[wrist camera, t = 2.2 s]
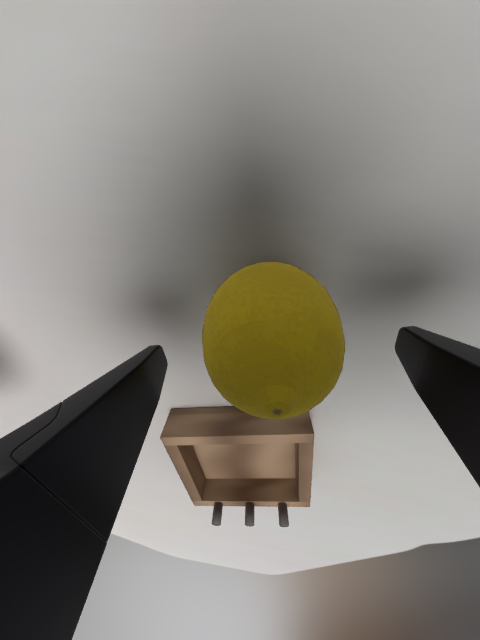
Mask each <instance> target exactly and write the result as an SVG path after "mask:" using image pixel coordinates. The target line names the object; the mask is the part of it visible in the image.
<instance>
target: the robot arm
mask: <svg viewBox="0 0 480 640" xmlns="http://www.w3.org/2000/svg"><path fill="white" fill-rule="evenodd" d="M395 351H396V353H397V355H398V357H399V359H400V361H401V363H402V365H403V367H404V369H405V371H406V373H407V375H408V377H409V379H410V381H411V383H412V384H413V386H414V388H415V390H416V391H417V393H418V395H419V396H420V398H421V399H422V401H423V402H424V404H425V405H426V407H427V408H428V410H429V411H430V413H431V414H432V416H433V417H434V419H435V420H436V422H437V423H438V425H439V426H440V428H441V429H442V431H443V432H444V434H445V435H446V437H447V438H448V440H449V441H450V443H451V445H452V446H453V448H454V449H455V451H456V452H457V454H458V455H459V457H460V458H461V460H462V461H463V463H464V464H465V466H466V467H467V469H468V470H469V472H470V473H471V475H472V476H473V478H474V479H475V481H476V482H477V484H478V485H479V487H480V349H479V348H476V347H473V346H470V345H467V344H464V343H461V342H459V341H456V340H453V339H450V338H447V337H444V336H441V335H438V334H436V333H433V332H430V331H427V330H424V329H421V328H418V327H415V326H409V327H402V328H400V330H399V332H398V336H397V340H396V344H395ZM167 365H168V364H167V359H166V356H165V354H164V351H163V348H162V347H161V346H160V345H153V346H149V347H147V348H146V349H144V350H143V351H141V352H139V353H138V354H136V355H135V356H133V357H132V358H130V359H128V360H127V361H125V362H124V363H122V364H120V365H119V366H117V367H116V368H114V369H113V370H111V371H109V372H108V373H106V374H105V375H103V376H101V377H100V378H98V379H97V380H95V381H94V382H92V383H90V384H89V385H87V386H86V387H84V388H83V389H81V390H79V391H78V392H76V393H75V394H73V395H71V396H70V397H68V398H67V399H65V400H64V401H63V402H60V403H59V404H57V405H56V406H54V407H52V408H51V409H49V410H48V411H46V412H44V413H43V414H41V415H39V416H38V417H36V418H35V419H33V420H31V421H30V422H28V423H26V424H25V425H23V426H21V427H19V428H18V429H16V430H14V431H13V432H11V433H9V434H8V435H6V436H4V437H2V438H1V439H0V640H72V637H73V635H74V632H75V629H76V627H77V623H78V621H79V618H80V615H81V613H82V610H83V607H84V604H85V602H86V599H87V596H88V594H89V591H90V588H91V586H92V583H93V580H94V577H95V574H96V572H97V569H98V566H99V563H100V561H101V558H102V555H103V553H104V550H105V547H106V544H107V542H106V541H108V538H109V536H110V533H111V530H112V528H113V525H114V522H115V519H116V517H117V514H118V511H119V508H120V506H121V503H122V500H123V497H124V495H125V492H126V489H127V486H128V484H129V481H130V478H131V476H132V473H133V470H134V467H135V465H136V462H137V459H138V456H139V454H140V451H141V448H142V445H143V443H144V440H145V437H146V435H147V432H148V429H149V426H150V424H151V421H152V418H153V415H154V413H155V410H156V407H157V404H158V401H159V398H160V394H161V390H162V386H163V382H164V378H165V374H166V370H167Z"/></svg>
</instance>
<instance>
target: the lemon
mask: <svg viewBox="0 0 480 640" xmlns="http://www.w3.org/2000/svg"><path fill="white" fill-rule="evenodd" d="M202 343H203V353H204V361H205V365H206V368H207V371H208V373H209V376H210V378H211V380H212V382H213V384H214V386H215V387H216V389H217V390H218V391H219V392H220V394H221V395H222V396H223V397H224V398H225V399H226V400H227V401H228V402H230V403H231V404H232V405H234V406H235V407H236V408H238V409H240V410H242V411H244V412H246V413H248V414H250V415H252V416H256V417H260V418H266V419H286V418H290V417H294V416H298V415H300V414H303V413H305V412H307V411H309V410H310V409H312V408H313V407H315V406H316V405H318V404H319V403H320V402H322V401H323V400H324V398H325V397H326V396H327V395H328V394H329V393H330V392H331V390H332V389H333V388H334V386H335V384H336V382H337V380H338V378H339V376H340V373H341V371H342V367H343V360H344V352H345V340H344V334H343V329H342V324H341V319H340V315H339V312H338V310H337V308H336V306H335V304H334V303H333V301H332V299H331V297H330V296H329V294H328V292H327V291H326V289H325V288H324V287H323V286H322V285H321V284H320V283H319V282H318V281H317V280H316V279H314V278H313V277H312V276H311V275H310V274H308V273H307V272H305V271H303V270H301V269H299V268H297V267H295V266H293V265H289V264H285V263H280V262H260V263H257V264H253V265H250V266H246V267H244V268H242V269H241V270H239V271H237V272H236V273H234V274H232V275H231V276H230V277H229V278H228V279H227V280H226V281H225V282H224V283H223V284H222V285H221V286H220V287H219V288H218V289H217V291H216V293H215V295H214V296H213V298H212V300H211V302H210V304H209V306H208V308H207V311H206V316H205V320H204V325H203V331H202Z"/></svg>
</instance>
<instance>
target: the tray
mask: <svg viewBox="0 0 480 640" xmlns="http://www.w3.org/2000/svg"><path fill="white" fill-rule="evenodd" d="M160 439H161V440H162V442H163V444H164V446H165V448H166V450H167V452H168V454H169V456H170V458H171V460H172V462H173V464H174V466H175V468H176V470H177V472H178V474H179V476H180V478H181V480H182V482H183V484H184V486H185V488H186V490H187V492H188V494H189V496H190V498H191V500H192V502H193V504H194V506H214V510H213V518H212V524H213V525H215V526H219V525H221V516H222V506H246V509H245V525H246V526H254V506H272V507H278V512H279V525H280V526H281V527H288V526H289V521H288V512H287V507H310V498H311V481H312V463H313V446H314V431H313V427H312V423H311V419H310V415H309V411H307V412H305V413H303V414H300V415H298V416H294V417H290V418H286V419H266V418H260V417H256V416H252V415H250V414H248V413H246V412H244V411H242V410H240V409H238V408H236V407H235V406H231V407H206V408H181V409H171V410H170V413H169V416H168V418H167V421H166V424H165V426H164V429H163V431H162V434H161V437H160Z"/></svg>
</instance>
